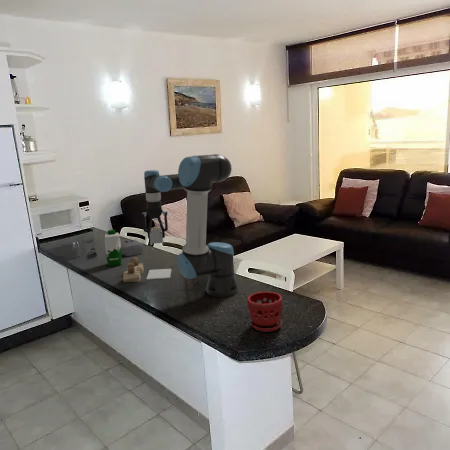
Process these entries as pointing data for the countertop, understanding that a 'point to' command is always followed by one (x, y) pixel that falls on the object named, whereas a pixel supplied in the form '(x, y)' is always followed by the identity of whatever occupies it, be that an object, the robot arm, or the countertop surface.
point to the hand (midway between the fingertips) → (157, 244)
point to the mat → (159, 274)
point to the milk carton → (113, 248)
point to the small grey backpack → (130, 247)
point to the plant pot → (265, 311)
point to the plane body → (133, 271)
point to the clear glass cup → (155, 235)
